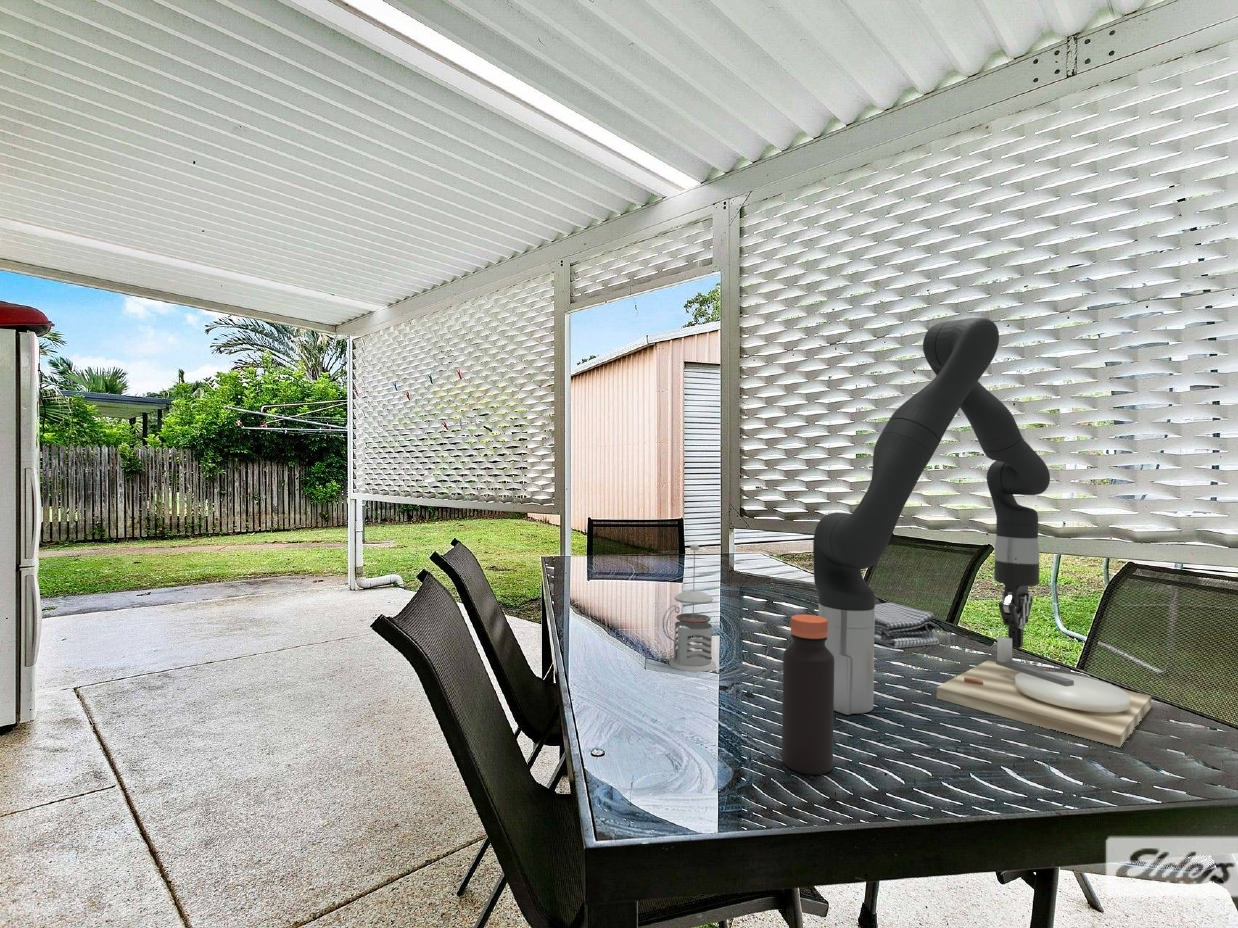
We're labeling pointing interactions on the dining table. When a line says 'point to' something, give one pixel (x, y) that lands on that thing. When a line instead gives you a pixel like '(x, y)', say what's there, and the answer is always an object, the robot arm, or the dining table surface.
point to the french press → (692, 632)
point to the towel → (903, 626)
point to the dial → (1062, 686)
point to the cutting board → (1039, 705)
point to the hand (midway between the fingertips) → (1015, 646)
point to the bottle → (808, 698)
